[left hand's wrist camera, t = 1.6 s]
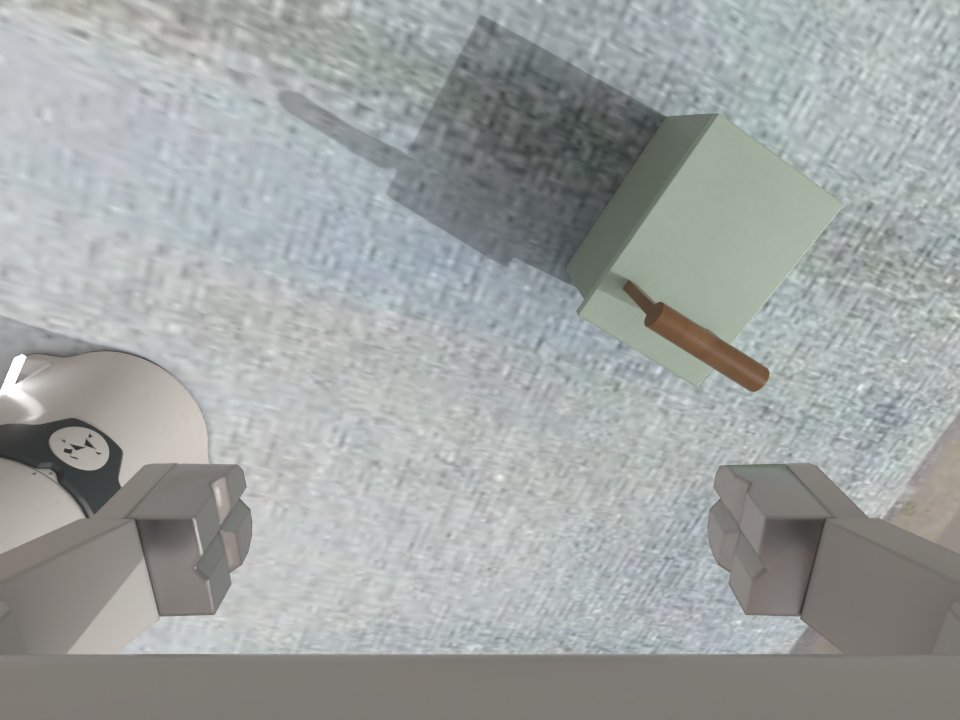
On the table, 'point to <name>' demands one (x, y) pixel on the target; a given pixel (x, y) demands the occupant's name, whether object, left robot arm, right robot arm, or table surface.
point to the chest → (633, 198)
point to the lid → (710, 256)
